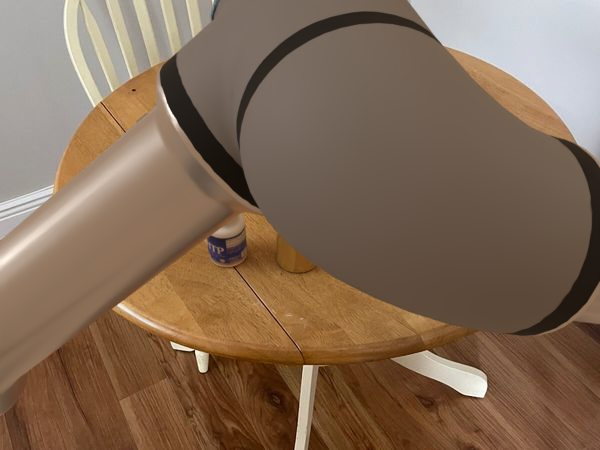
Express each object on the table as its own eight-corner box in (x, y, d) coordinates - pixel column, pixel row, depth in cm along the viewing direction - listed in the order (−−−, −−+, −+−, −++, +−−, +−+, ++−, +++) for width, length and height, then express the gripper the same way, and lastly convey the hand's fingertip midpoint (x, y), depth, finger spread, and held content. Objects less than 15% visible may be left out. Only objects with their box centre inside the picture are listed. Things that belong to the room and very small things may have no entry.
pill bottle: (201, 253, 80) (193, 204, 74) (232, 235, 83) (227, 187, 77) (224, 274, 77) (218, 225, 71) (255, 255, 80) (252, 207, 74)
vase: (304, 280, 77) (305, 197, 67) (266, 262, 79) (262, 179, 69) (328, 252, 80) (332, 169, 71) (291, 235, 83) (290, 153, 73)
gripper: (547, 357, 54) (333, 285, 60) (574, 197, 70) (405, 154, 77) (572, 305, 49) (336, 232, 55) (596, 146, 65) (412, 104, 72)
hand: (376, 187), depth 66 cm, fingers open, 13 cm apart
